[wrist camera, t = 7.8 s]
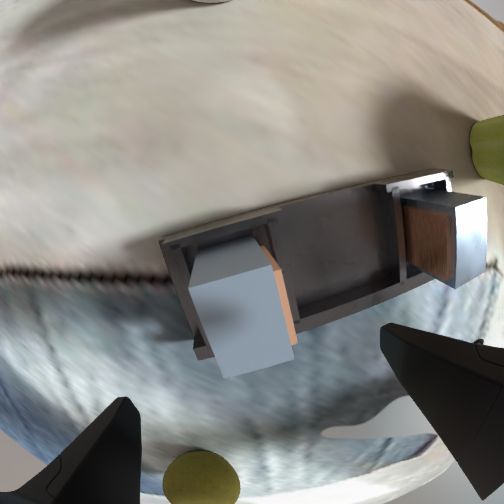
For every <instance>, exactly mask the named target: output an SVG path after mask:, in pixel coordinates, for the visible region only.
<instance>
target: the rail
mask: <svg viewBox="0 0 504 504" xmlns="http://www.w3.org/2000/svg"><path fill="white" fill-rule="evenodd" d="M452 177H453V171H447V170H444V169H432V170H427V171H421V172H416V173H411V174H406V175H401V176H396V177H391V178H387V179H382V180H377V181H373V182H368V183H363V184H359V185H355V186H350V187H346V188H341V189H337V190H333V191H329V192H324V193H320V194H316V195H312V196H308V197H304V198H300V199H296V200H292V201H288V202H284V203H280V204H276V205H272V206H269V207H265V208H261V209H257V210H254V211H250V212H246V213H243V214H239V215H235V216H232V217H228V218H225V219H221V220H218V221H214V222H211V223H207V224H204V225H200V226H197V227H193V228H190V229H187V230H183V231H180V232H177V233H173V234H170V235H167V236H164V237H162V238H161V239H160V240H159V244H160V247H161V250H162V253H163V256H164V259H165V262H166V265H167V268H168V270H169V273H170V276H171V279H172V281H173V284H174V287H175V289H176V292H177V295H178V297H179V300H180V303H181V305H182V308H183V310H184V313H185V315H186V318H187V320H188V323H189V325H190V328H191V330H192V332H193V335H194V345H193V350H194V352H195V354H196V356H197V358H198V360H203V359H207V358H211V357H215V355H214V353H213V351H212V348H211V346H210V343H209V341H208V338H207V336H206V334H205V331H204V329H203V326H202V324H201V321H200V318H199V316H198V313H197V311H196V308H195V305H194V303H193V300H192V297H191V295H190V292H189V289H188V287H189V282H190V278H191V274H192V270H193V266H194V262H195V258H196V254H197V251H199V250H202V249H205V248H209V247H212V246H216V245H219V244H223V243H226V242H230V241H233V240H237V239H240V238H244V237H247V236H251V235H253V237H254V238H255V240H256V241H257V243H258V244H259V246H263V245H264V246H265V248H266V249H267V250H268V252H269V253H270V254H271V256H272V257H273V259H274V260H275V261H276V263H277V264H278V266H279V267H280V268H281V271H282V275H283V279H284V284H285V288H286V292H287V297H288V301H289V306H290V310H291V314H292V319H293V323H294V328H295V332H296V334H297V333H300V332H303V331H306V330H309V329H312V328H315V327H318V326H321V325H324V324H327V323H330V322H332V321H335V320H338V319H341V318H343V317H346V316H349V315H351V314H354V313H357V312H359V311H362V310H364V309H367V308H369V307H372V306H374V305H377V304H379V303H382V302H384V301H386V300H389V299H391V298H393V297H396V296H398V295H400V294H403V293H405V292H407V291H409V290H412V289H414V288H416V287H418V286H420V285H423V284H425V283H427V282H429V281H431V280H433V279H437V280H439V281H441V282H443V283H445V284H447V285H448V286H450V287H452V288H454V289H456V288H458V287H460V286H462V285H463V284H465V283H467V282H468V281H470V280H472V279H473V278H475V277H477V276H478V275H480V274H482V273H483V272H485V266H486V250H487V206H486V197H481V196H475V195H469V194H463V193H456V192H452V187H451V178H452Z"/></svg>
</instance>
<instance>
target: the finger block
mask: <svg viewBox="0 0 504 504" xmlns="http://www.w3.org/2000/svg"><path fill="white" fill-rule="evenodd" d="M188 289H189V292H190V295H191V297H192V300H193V303H194V305H195V308H196V311H197V313H198V316H199V318H200V321H201V324H202V326H203V329H204V331H205V334H206V336H207V338H208V341H209V343H210V346H211V348H212V351H213V353H214V355H215V358H216V360H217V362H218V365H219V367H220V369H221V372H222V374H223V376H224V378H229V377H233V376H237V375H241V374H244V373H248V372H252V371H256V370H259V369H263V368H266V367H270V366H273V365H277V364H280V363H283V362H286V361H290V360H293V359H294V355H293V351H292V347H291V345H294V344H297V343H298V342H297V337H296V332H295V328H294V323H293V319H292V314H291V310H290V306H289V301H288V297H287V292H286V288H285V284H284V279H283V275H282V271H281V268H280V267H279V266H278V264H277V263H276V261H275V260H274V259H273V257H272V256H271V254H270V253H269V252H268V250H267V249H266V248H265V246H264V245H263V246H259V244H258V243H257V241H256V240H255V238H254V237H253V235H251V236H247V237H244V238H240V239H237V240H233V241H230V242H226V243H223V244H219V245H216V246H212V247H209V248H205V249H202V250H199V251H197V254H196V258H195V262H194V266H193V270H192V274H191V278H190V282H189V287H188Z"/></svg>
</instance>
